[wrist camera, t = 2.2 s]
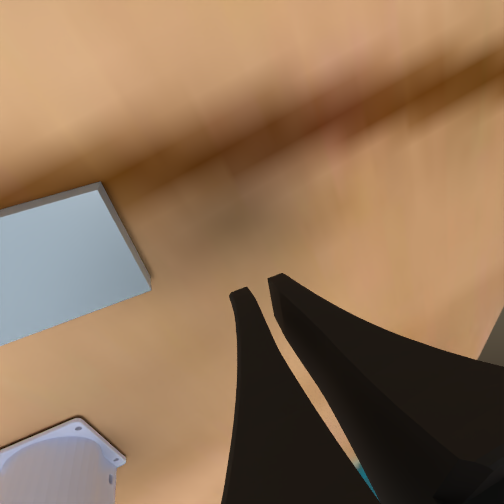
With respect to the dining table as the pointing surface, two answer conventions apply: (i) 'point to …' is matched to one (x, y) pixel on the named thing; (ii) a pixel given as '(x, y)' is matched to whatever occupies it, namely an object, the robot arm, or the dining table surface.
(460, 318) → the dining table surface
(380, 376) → the robot arm
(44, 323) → the lid
